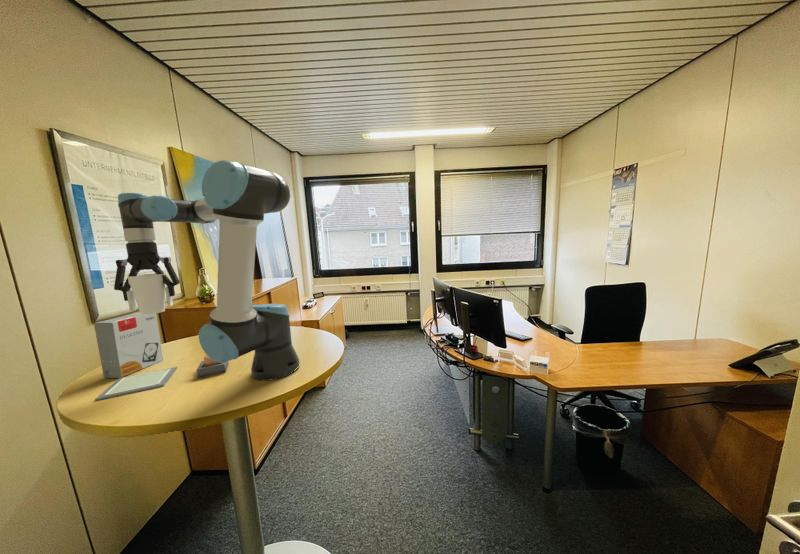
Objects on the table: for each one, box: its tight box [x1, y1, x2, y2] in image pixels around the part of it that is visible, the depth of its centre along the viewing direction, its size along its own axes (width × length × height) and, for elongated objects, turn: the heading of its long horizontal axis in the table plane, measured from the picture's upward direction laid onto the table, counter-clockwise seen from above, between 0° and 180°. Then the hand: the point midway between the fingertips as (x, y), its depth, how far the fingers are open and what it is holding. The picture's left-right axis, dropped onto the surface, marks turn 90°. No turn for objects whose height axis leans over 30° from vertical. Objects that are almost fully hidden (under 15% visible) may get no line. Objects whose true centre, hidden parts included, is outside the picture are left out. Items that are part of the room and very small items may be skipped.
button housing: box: [196, 360, 229, 379], centre depth 99 cm, size 8×8×3 cm
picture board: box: [94, 366, 178, 401], centre depth 93 cm, size 15×16×1 cm
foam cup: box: [127, 272, 166, 315], centre depth 95 cm, size 10×9×13 cm
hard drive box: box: [93, 312, 164, 379], centre depth 104 cm, size 16×8×20 cm, turn 171°
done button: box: [203, 355, 220, 367], centre depth 98 cm, size 5×5×3 cm
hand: (152, 307), depth 96 cm, fingers closed on foam cup, 9 cm apart
